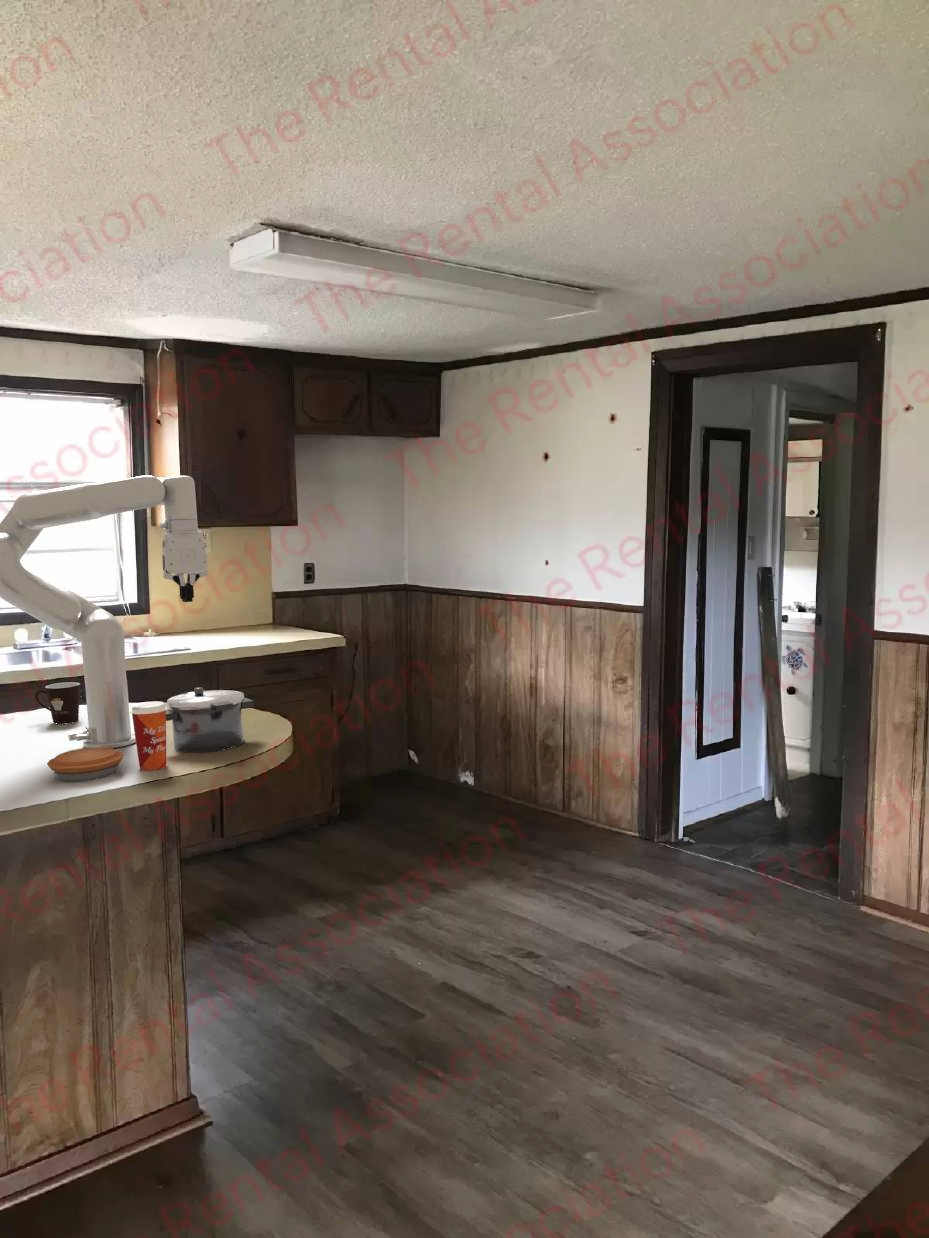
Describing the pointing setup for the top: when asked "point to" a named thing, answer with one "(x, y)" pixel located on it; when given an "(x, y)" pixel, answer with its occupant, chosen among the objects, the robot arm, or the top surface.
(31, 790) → the top surface
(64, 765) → the pie
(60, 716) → the coffee mug
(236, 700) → the cooker lid
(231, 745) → the cooker pot
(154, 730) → the paper cup
